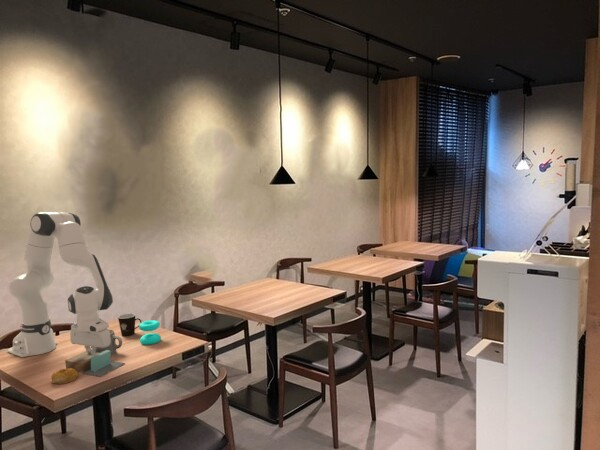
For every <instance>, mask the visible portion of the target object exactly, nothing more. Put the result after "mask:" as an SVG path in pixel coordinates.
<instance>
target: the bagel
mask: <svg viewBox="0 0 600 450" xmlns="http://www.w3.org/2000/svg"><path fill="white" fill-rule="evenodd" d="M78 375H79V373H78V372H77V371H76V370H75V369H72V368H68V369H66V368H62V369H61V368H60V369H59V370H56V372H53V373H52V375H51V383H52V384H54V385H55V384H57V385H65V384H68V383H71V382H73V381H75V380H76V379H77V377H78Z"/></svg>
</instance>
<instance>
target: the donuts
mask: <svg viewBox="0 0 600 450" xmlns="http://www.w3.org/2000/svg"><path fill="white" fill-rule="evenodd" d="M141 322H142V323H139V325H138V326H139V327H138V328H139V330H140V331H142V332H149V333H146V334H143V335H142V336H141V337H140V339H139V341H140V344H142V345H146V346H149V345H151V346H152V345H155V344H157V343H159V342H161V340H162V337H161V335H160V334H159V333H156V332H152V331H156V330H157V329H159V328H160V326H161V322H160V321H159V320H154V319H153V320H152V319H149V320H144V321H141Z"/></svg>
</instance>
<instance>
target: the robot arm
mask: <svg viewBox="0 0 600 450" xmlns="http://www.w3.org/2000/svg"><path fill="white" fill-rule="evenodd" d="M81 226H82V225H81V219H80V217H79V215H77V214H76V213H72V212H64V211H53V212H52V211H49V212H45V211H41V212H37V213H34V214H33V215H32V217H31V219H30V231H29V233H28V237H27V241H26V246H25V250H24V255H23V257H24V260H25V262H26V265H27V266H26V268H27V269H26V272H25V273H23V274H20V275H17V276H16V277H15V278H14V279H12V280H11V282H9V283H10V284H9V286H8V287H9V292H10V294H11V296H13V297H14V298H15V299H16V300H17V301H18V304H19V306H20V309H21V313H22V315H21V316H22V323H21V324H20V326H19V327H20V328H21V331H20V332H19V333H18V334H17V335H16V336H14V338H13V340H12V347H10V348H8V349H7V353H8V354H9V353H10V354H11V355H15V356H17V357H20V358H26V357H31V356H37V355H43V354H46V353H49V352H51V351H53V350H55V349H56V348H57V345H58V342H57V341H56V340H55V334H54V330H53V329H52V328H51V327H52V321H51V319H50V314H49V313H50V312H49V305H48V303H47V302H46V301H44V299H43V296H42V292H43V291H45V290H47V289H48V288H49V287H50V286H51V285H52V284H53V283H54V280H55V279H54V274H53V272H52V271H51V258H52V253H53V249H54V243H55V237H56V239H57V242H58V244H57V245H58V250H59V254H60V258H61V260H62V261H63V262H64V263H66V264H68V265H71V266H72V267H73V266H75V267H78V268H83V269H86V270H88V271H89V272H90V273H91V276H92V277H93V281H94V283H95V286H96V288H94V287H92V286H88V285H87V286H80V287H79V288H76V289H75V292H73V293H71V294H70V295H69V297H68V298H67V305H68V311H69V312H70V313H72V314H74V315H76V322H73V323H72V324H71V326H70V339H69V340H70V343H71V344H72V345H79V346H84V349H85V351H87V355H91V356H94V355H95V351H96V348H97V347H100V348H105V347H108V346H109V345H110V343H111V339H110V332H109V330H110V329H108V328H109V327H110V324H109V323H108V322H106V321H105V320H103V319H101V318H100V314H99V312H98V311H105V310H106V311H107V310H108V309H109V308H110V307H111V306H112V304H113V302H114V301H113V300H114V299H113V295H112V292H111V290H110V288H109V286H108V284H107V282H106V281H107V280H106V278H105V275H104V272H103V270H102V267H101V265H100V263H99V260H98V259H97V257H96V255H95V254H92V253H91V252H90V250H89V249H88V248H87V244H86V239H85V236H84V235H85V234H84V232H83V230H82V227H81Z"/></svg>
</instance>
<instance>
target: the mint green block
mask: <svg viewBox="0 0 600 450" xmlns="http://www.w3.org/2000/svg"><path fill="white" fill-rule="evenodd" d="M110 361H111V356H110V351H109V350H106V351H103V352H101V353H99V354H97V355H95V356H93V357H91V371H94V372H95V371H97V370H99V369H101V368H103V367H105V366H107V365H109V364H110Z"/></svg>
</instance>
